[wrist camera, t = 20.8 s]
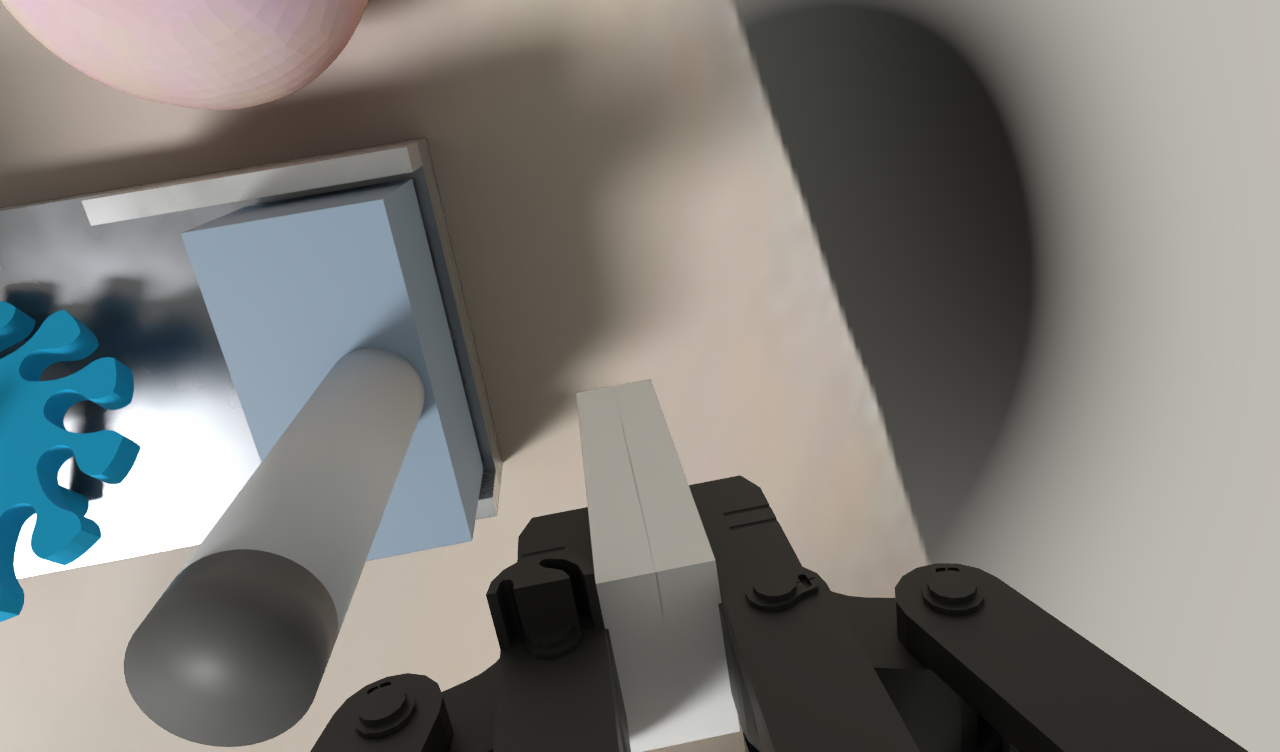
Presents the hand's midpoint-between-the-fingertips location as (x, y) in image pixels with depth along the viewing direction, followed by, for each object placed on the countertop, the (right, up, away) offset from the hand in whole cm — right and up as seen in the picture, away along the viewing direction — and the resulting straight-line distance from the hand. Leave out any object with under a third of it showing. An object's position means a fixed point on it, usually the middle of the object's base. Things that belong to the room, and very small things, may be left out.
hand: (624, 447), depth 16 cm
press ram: (-8, +2, +10) cm, 13 cm away
